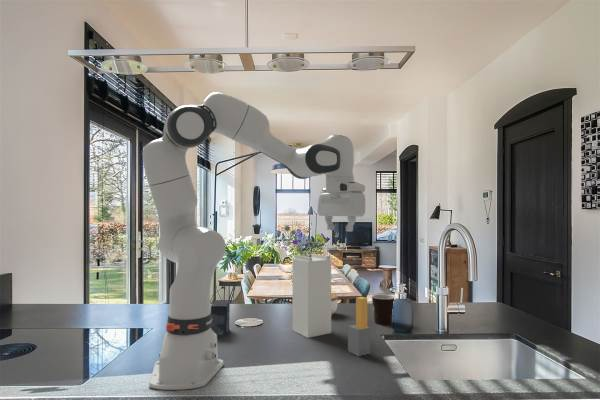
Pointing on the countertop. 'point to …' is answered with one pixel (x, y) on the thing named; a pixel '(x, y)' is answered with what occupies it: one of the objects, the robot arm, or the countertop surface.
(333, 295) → the lidded jar
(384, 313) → the coffee mug
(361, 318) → the grey and orange bar
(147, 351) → the countertop surface
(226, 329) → the box
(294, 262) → the tall grey pillar
